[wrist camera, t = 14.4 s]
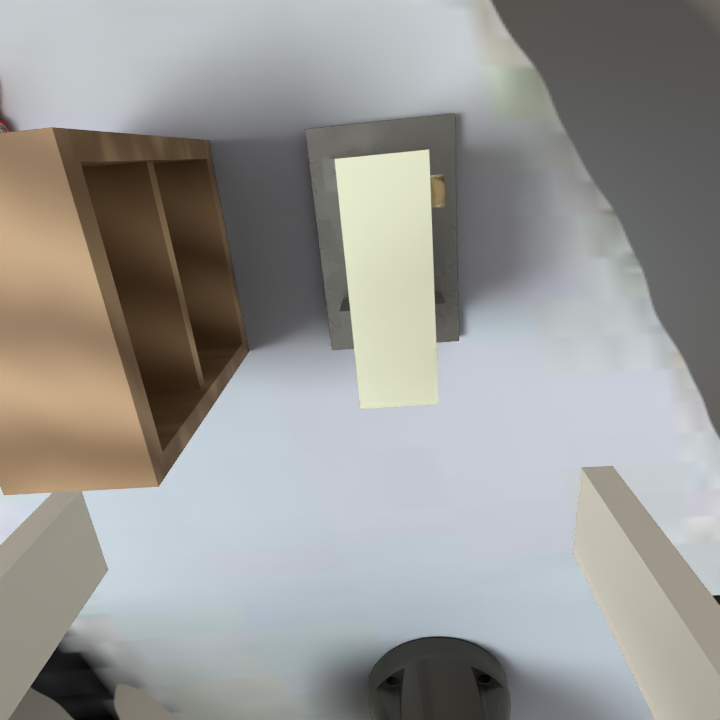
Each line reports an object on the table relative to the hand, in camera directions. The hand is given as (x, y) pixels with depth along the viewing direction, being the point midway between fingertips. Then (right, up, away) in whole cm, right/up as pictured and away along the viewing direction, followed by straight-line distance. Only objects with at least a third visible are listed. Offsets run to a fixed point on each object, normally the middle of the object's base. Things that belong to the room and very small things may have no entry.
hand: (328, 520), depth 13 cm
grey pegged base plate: (+3, +13, +24) cm, 27 cm away
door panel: (+3, +13, +23) cm, 26 cm away
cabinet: (-13, +12, +25) cm, 31 cm away
